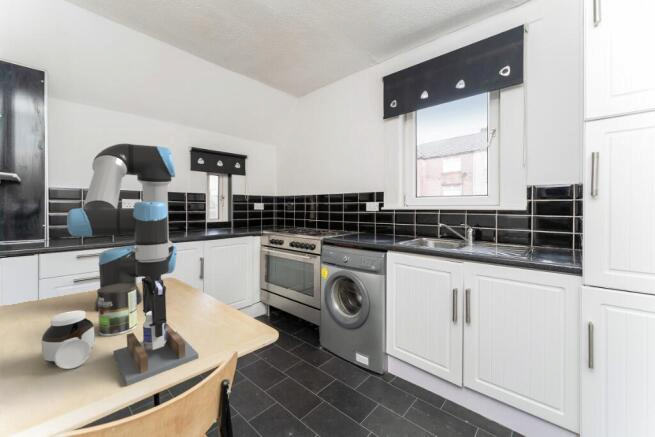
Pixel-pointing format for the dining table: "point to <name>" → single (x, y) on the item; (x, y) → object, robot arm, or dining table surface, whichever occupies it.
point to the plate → (151, 361)
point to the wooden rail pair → (141, 356)
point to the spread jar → (68, 340)
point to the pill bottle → (149, 331)
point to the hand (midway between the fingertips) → (155, 343)
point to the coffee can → (117, 309)
